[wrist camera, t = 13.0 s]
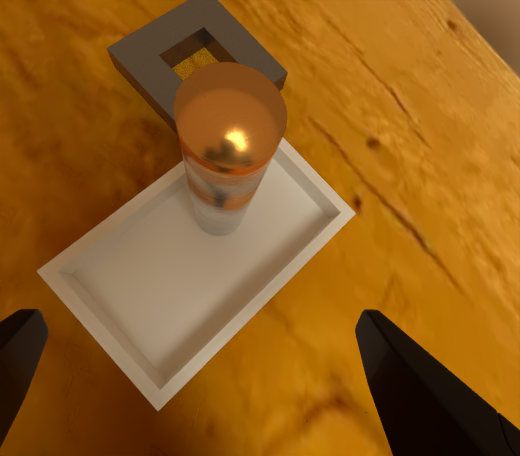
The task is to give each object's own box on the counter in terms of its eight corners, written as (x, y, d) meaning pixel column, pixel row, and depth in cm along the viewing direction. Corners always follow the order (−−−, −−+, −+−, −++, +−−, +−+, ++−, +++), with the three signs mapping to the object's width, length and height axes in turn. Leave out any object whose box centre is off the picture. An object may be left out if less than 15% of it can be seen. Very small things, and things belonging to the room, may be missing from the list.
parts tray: (339, 222, 24) (355, 213, 21) (166, 393, 20) (157, 411, 17) (249, 128, 25) (253, 106, 22) (61, 274, 20) (36, 271, 17)
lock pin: (252, 215, 22) (308, 122, 10) (216, 246, 21) (227, 187, 9) (221, 180, 22) (236, 43, 10) (184, 209, 21) (148, 100, 9)
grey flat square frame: (282, 88, 26) (287, 72, 24) (196, 154, 24) (194, 142, 22) (207, 11, 27) (206, -11, 25) (115, 67, 24) (106, 48, 22)
